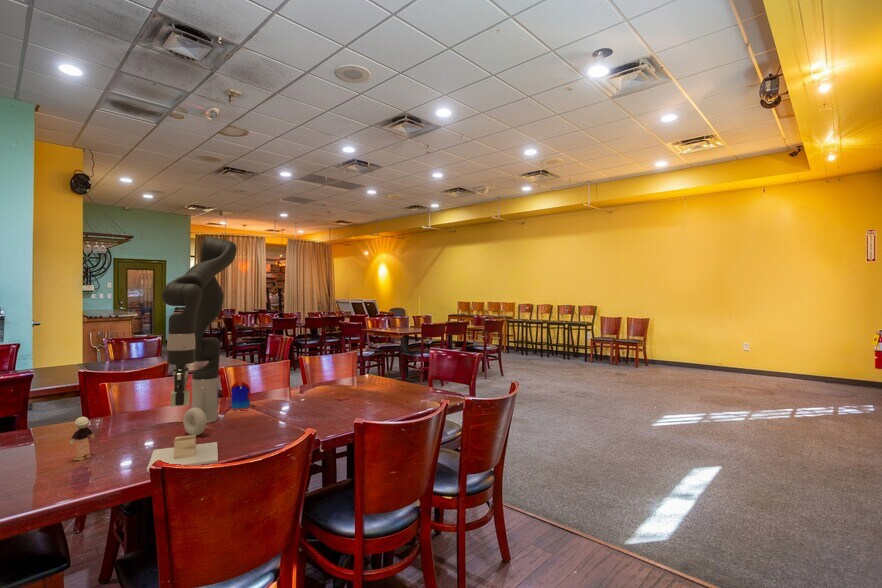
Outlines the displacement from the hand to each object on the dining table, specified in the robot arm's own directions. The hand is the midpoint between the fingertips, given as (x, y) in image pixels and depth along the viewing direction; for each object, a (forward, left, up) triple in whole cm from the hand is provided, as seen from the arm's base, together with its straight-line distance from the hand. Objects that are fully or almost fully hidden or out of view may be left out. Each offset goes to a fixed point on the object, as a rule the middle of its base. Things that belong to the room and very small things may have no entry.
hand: (180, 402), depth 136 cm
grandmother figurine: (-12, -26, -17) cm, 34 cm away
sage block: (0, 0, 0) cm, 0 cm away
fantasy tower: (-58, +21, -17) cm, 64 cm away
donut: (-23, +4, -17) cm, 29 cm away
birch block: (0, +2, -16) cm, 16 cm away
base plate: (0, +2, -17) cm, 17 cm away
